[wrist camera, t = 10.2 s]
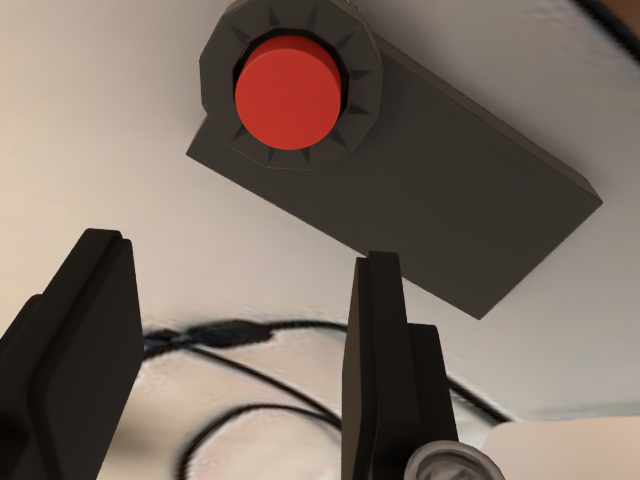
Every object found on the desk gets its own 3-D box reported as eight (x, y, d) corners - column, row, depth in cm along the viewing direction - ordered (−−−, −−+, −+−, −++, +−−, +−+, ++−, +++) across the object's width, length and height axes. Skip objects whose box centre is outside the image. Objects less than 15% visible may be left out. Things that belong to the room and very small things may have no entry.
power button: (224, 98, 22) (216, 115, 21) (273, 13, 21) (268, 26, 19) (307, 148, 23) (304, 168, 22) (360, 70, 22) (361, 87, 20)
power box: (170, 119, 27) (145, 158, 23) (269, -66, 23) (256, -50, 19) (471, 293, 32) (486, 347, 28) (599, 166, 27) (635, 212, 24)
